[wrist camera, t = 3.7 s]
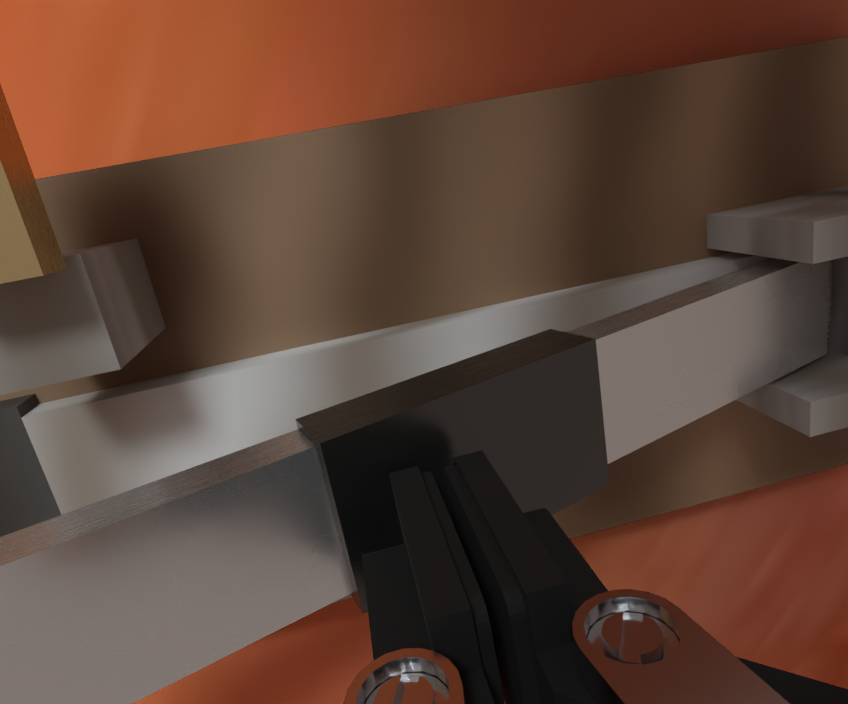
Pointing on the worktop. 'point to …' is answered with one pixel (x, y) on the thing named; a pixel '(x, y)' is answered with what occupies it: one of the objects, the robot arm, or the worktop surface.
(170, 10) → the worktop surface
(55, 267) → the lock bolt
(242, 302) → the tong base
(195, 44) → the worktop surface
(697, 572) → the worktop surface
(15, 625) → the banded silver bar
